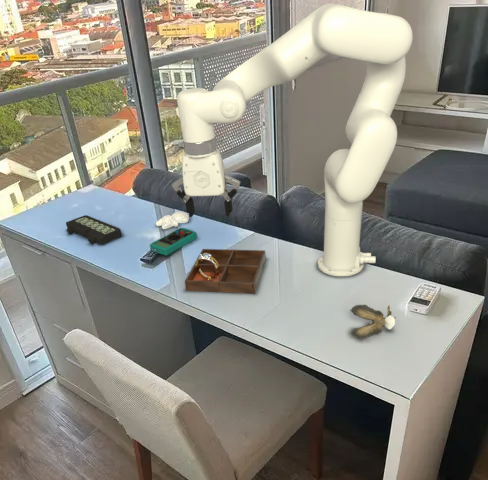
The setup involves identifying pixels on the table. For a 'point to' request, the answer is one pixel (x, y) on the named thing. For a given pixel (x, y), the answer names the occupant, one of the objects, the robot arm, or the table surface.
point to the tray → (228, 271)
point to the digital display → (93, 230)
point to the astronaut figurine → (173, 220)
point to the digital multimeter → (173, 241)
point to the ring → (210, 259)
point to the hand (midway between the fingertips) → (210, 214)
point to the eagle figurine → (376, 319)
